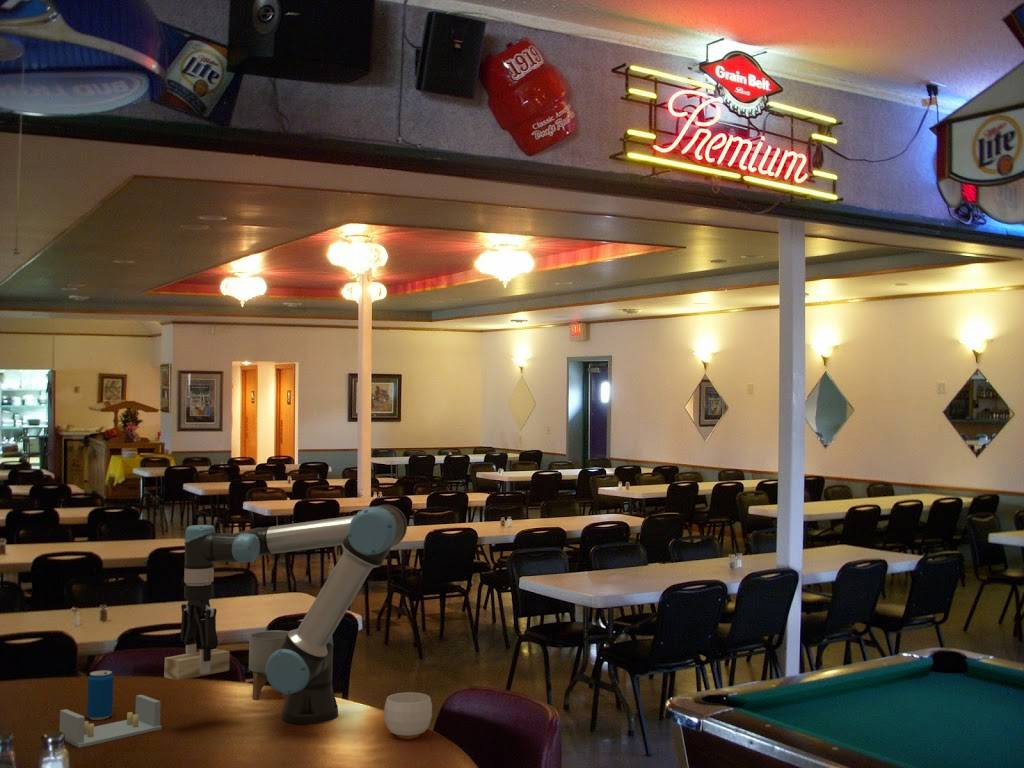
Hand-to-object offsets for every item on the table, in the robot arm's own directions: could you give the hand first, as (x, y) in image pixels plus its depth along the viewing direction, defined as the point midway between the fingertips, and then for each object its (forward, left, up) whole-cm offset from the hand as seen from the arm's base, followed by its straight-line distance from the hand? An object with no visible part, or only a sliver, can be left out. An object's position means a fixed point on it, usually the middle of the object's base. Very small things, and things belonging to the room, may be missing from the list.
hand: (197, 671), depth 274 cm
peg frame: (+9, +19, -14) cm, 26 cm away
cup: (-47, -33, -14) cm, 59 cm away
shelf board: (0, 0, -1) cm, 1 cm away
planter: (+12, -32, -14) cm, 37 cm away
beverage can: (+25, +14, -14) cm, 32 cm away
